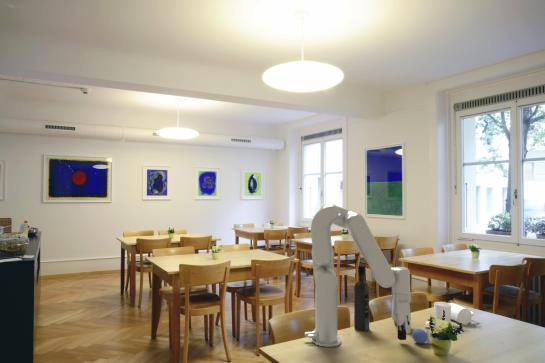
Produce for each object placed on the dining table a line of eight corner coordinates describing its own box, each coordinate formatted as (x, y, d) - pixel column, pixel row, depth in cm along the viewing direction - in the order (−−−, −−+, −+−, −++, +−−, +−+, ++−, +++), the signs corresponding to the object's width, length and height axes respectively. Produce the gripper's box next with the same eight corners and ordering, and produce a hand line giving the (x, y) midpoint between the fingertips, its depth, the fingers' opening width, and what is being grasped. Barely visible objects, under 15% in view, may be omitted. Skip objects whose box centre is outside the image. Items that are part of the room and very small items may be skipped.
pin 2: (427, 343, 163) (427, 323, 163) (424, 341, 165) (424, 321, 166) (433, 343, 163) (433, 323, 163) (430, 341, 165) (430, 321, 166)
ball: (431, 333, 161) (427, 347, 161) (425, 328, 167) (422, 341, 167) (417, 330, 161) (414, 344, 161) (412, 325, 167) (408, 338, 167)
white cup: (444, 328, 182) (443, 307, 182) (430, 323, 189) (430, 303, 189) (455, 325, 186) (454, 304, 186) (441, 320, 193) (441, 300, 193)
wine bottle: (370, 329, 181) (369, 265, 182) (364, 332, 176) (363, 267, 177) (359, 326, 184) (359, 264, 185) (353, 329, 180) (353, 265, 181)
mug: (458, 325, 186) (457, 309, 186) (444, 319, 196) (444, 303, 196) (479, 323, 188) (478, 307, 189) (465, 317, 198) (464, 301, 198)
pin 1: (406, 333, 174) (406, 314, 175) (404, 331, 177) (404, 313, 177) (411, 333, 175) (411, 314, 175) (409, 331, 177) (409, 313, 177)
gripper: (386, 292, 171) (387, 333, 171) (399, 301, 156) (400, 346, 156) (402, 291, 172) (403, 332, 171) (417, 300, 157) (418, 345, 156)
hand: (401, 339), depth 163 cm, fingers closed
